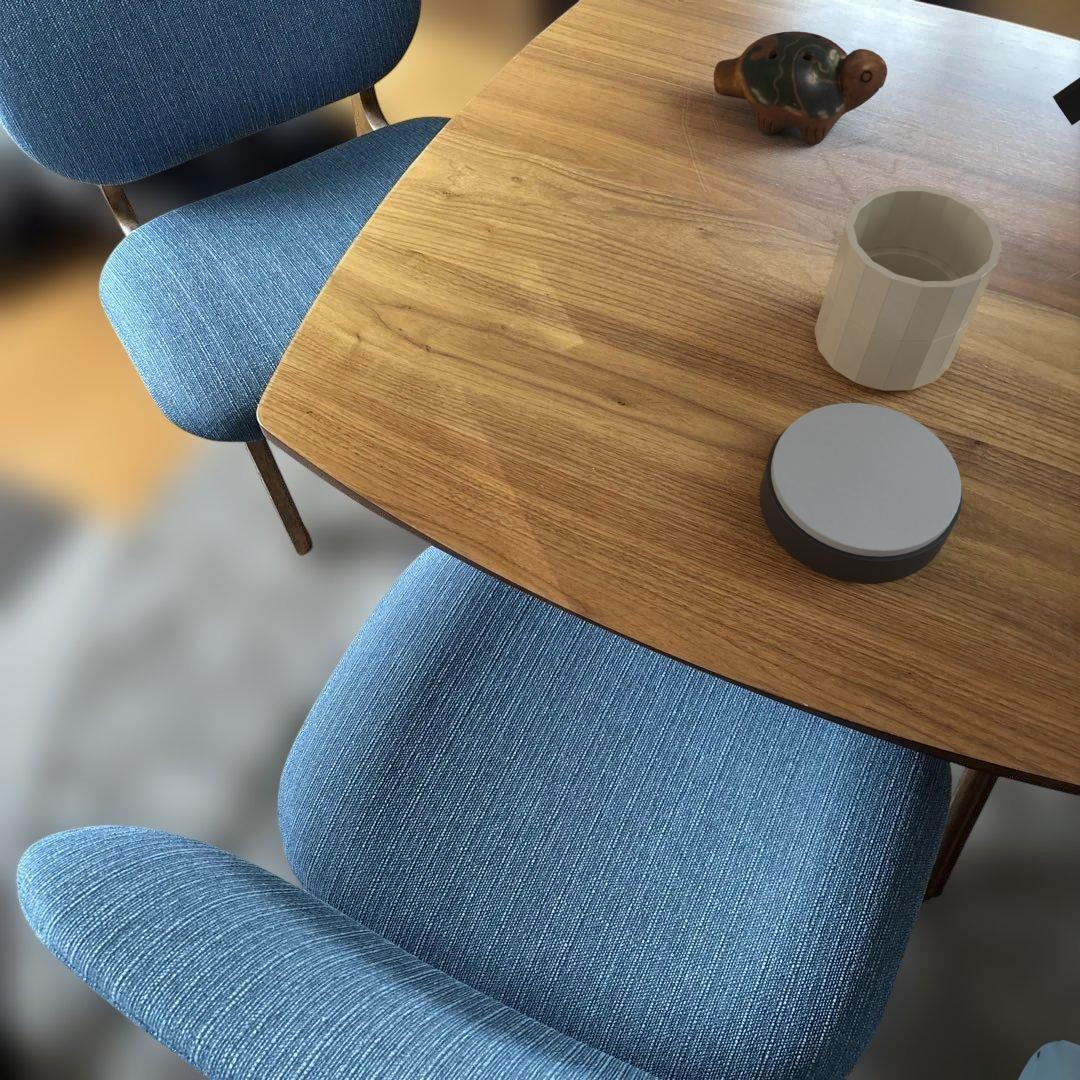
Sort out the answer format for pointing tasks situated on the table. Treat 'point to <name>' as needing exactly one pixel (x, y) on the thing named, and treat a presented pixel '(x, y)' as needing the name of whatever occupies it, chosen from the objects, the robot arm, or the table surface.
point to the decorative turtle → (800, 81)
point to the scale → (860, 492)
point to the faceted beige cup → (905, 286)
